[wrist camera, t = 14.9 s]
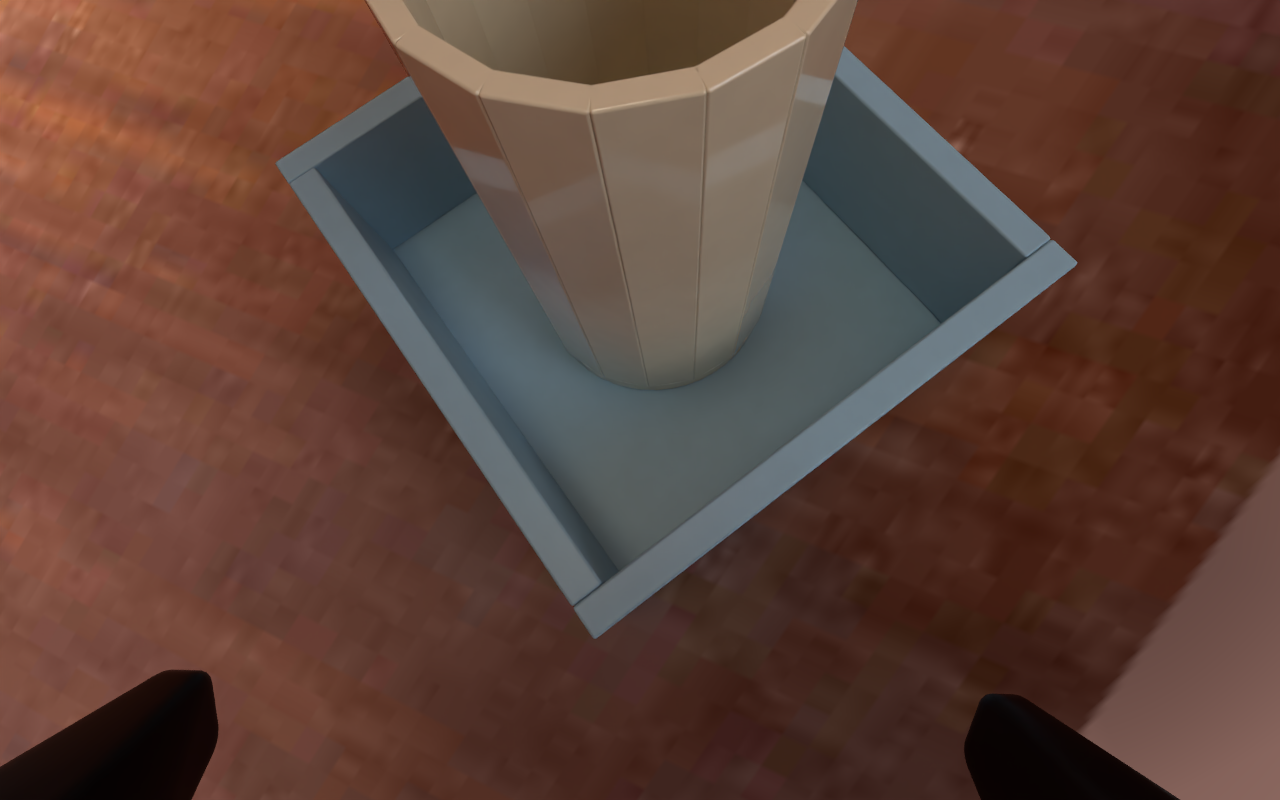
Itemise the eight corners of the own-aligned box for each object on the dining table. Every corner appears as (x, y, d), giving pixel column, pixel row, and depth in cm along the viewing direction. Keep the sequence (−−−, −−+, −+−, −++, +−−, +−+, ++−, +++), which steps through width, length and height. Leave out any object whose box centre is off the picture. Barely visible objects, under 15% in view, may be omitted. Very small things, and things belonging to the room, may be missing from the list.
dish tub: (976, 340, 19) (1080, 262, 14) (619, 617, 17) (593, 640, 13) (684, 42, 22) (684, -104, 17) (370, 255, 21) (273, 162, 16)
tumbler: (738, 412, 18) (833, 153, 7) (521, 364, 19) (266, 60, 7) (781, 211, 20) (919, -286, 8) (579, 175, 21) (442, -319, 9)
